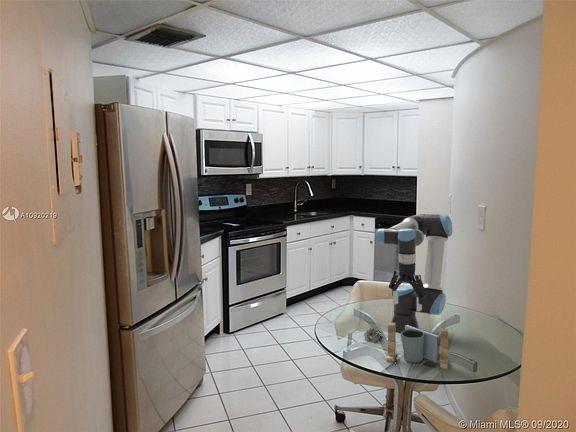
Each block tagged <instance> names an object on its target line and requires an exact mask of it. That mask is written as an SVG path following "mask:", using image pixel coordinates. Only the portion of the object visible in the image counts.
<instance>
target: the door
mask: <svg viewBox="0 0 576 432" xmlns="http://www.w3.org/2000/svg"><path fill="white" fill-rule="evenodd" d="M408 329H415V330H420V331H422V332H423V333H424V344H423V345H424V349H423V359H427V360H428V361H431V362H433V363H436V364H437V363H439V362H440V359H441V353H440V346H441V337H440V335H439V334H434V333H432V332H429V331H425V330H423V329H420V328H419V329H417V328H414V327H412V326H409V325H406V326H405V330H408Z"/></svg>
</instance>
